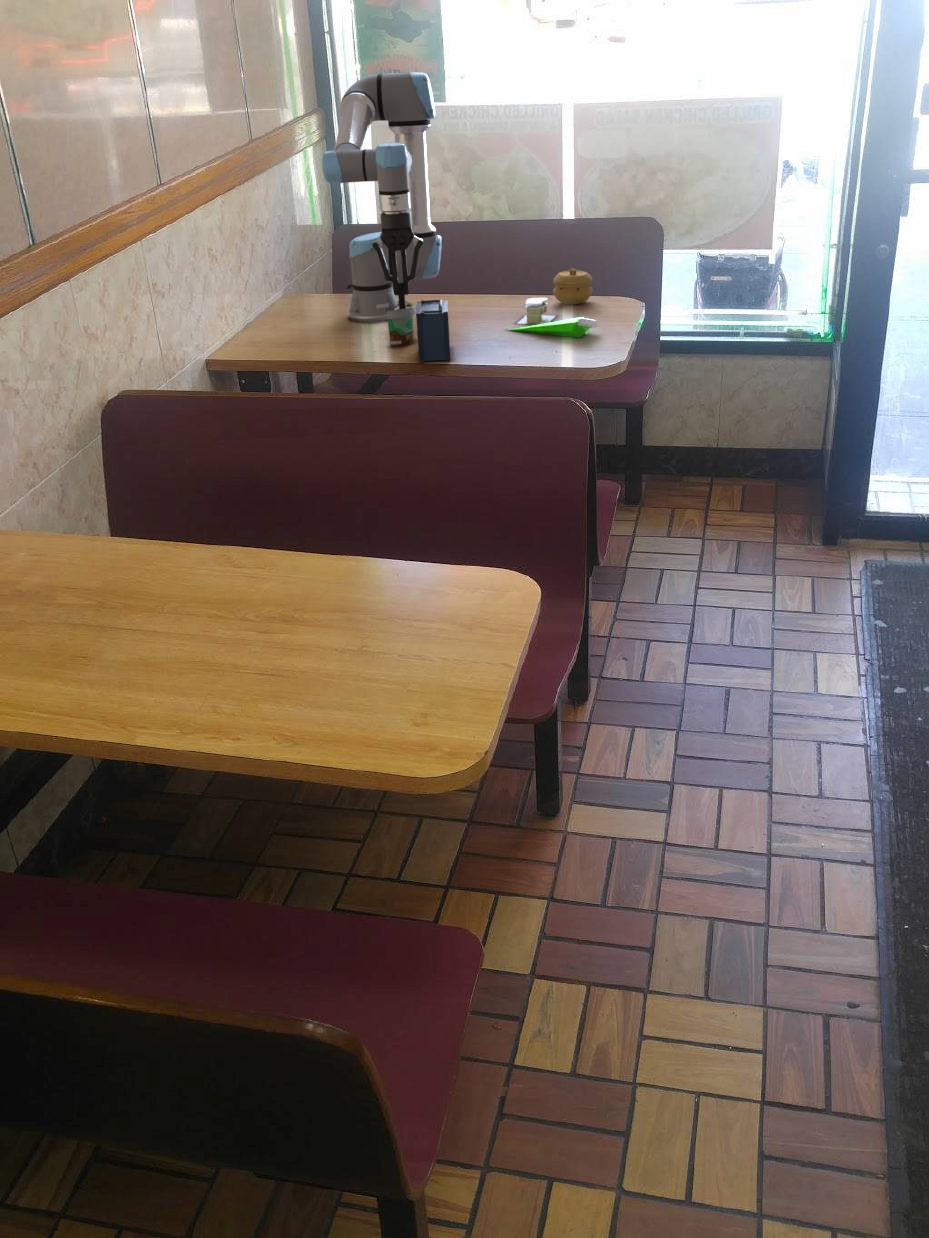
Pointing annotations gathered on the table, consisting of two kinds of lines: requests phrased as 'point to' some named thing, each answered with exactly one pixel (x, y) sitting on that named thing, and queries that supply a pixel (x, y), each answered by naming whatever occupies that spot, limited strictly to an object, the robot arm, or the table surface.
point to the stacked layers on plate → (536, 312)
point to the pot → (572, 286)
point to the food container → (401, 325)
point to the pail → (433, 330)
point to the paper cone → (562, 327)
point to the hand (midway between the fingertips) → (402, 307)
